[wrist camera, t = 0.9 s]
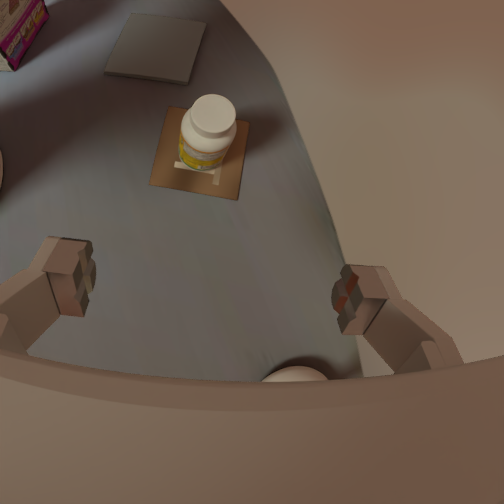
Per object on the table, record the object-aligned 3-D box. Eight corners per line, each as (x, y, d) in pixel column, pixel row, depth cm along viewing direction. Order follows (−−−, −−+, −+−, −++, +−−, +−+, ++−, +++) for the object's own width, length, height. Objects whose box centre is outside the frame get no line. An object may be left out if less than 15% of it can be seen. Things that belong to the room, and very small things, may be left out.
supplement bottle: (208, 181, 36) (222, 152, 26) (168, 156, 35) (170, 119, 25) (233, 145, 37) (254, 108, 27) (195, 121, 36) (205, 78, 26)
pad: (104, 74, 33) (103, 71, 32) (131, 16, 34) (131, 13, 33) (187, 85, 36) (187, 82, 35) (205, 26, 37) (206, 23, 36)
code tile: (149, 184, 34) (148, 184, 34) (168, 106, 35) (168, 105, 35) (236, 200, 36) (237, 200, 36) (249, 122, 37) (249, 122, 37)
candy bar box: (26, 16, 30) (0, -54, 14) (50, 16, 31) (28, -60, 15) (-10, 73, 28) (-55, 7, 13) (14, 73, 30) (-29, 1, 14)
